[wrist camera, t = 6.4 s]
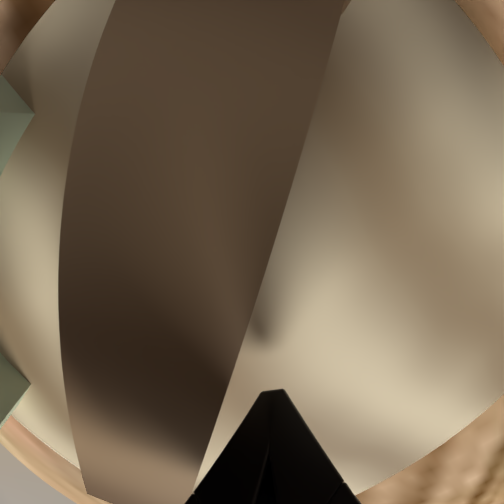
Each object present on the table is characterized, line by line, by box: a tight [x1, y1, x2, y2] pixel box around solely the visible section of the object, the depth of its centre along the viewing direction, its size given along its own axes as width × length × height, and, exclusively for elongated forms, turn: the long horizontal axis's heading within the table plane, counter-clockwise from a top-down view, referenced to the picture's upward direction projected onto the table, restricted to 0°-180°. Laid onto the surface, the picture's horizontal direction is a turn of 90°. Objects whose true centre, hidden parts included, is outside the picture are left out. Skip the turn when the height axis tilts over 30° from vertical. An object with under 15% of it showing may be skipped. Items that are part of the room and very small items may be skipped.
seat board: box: [0, 0, 504, 495], centre depth 8 cm, size 23×21×4 cm
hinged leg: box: [58, 0, 351, 504], centre depth 5 cm, size 16×4×4 cm, turn 164°
